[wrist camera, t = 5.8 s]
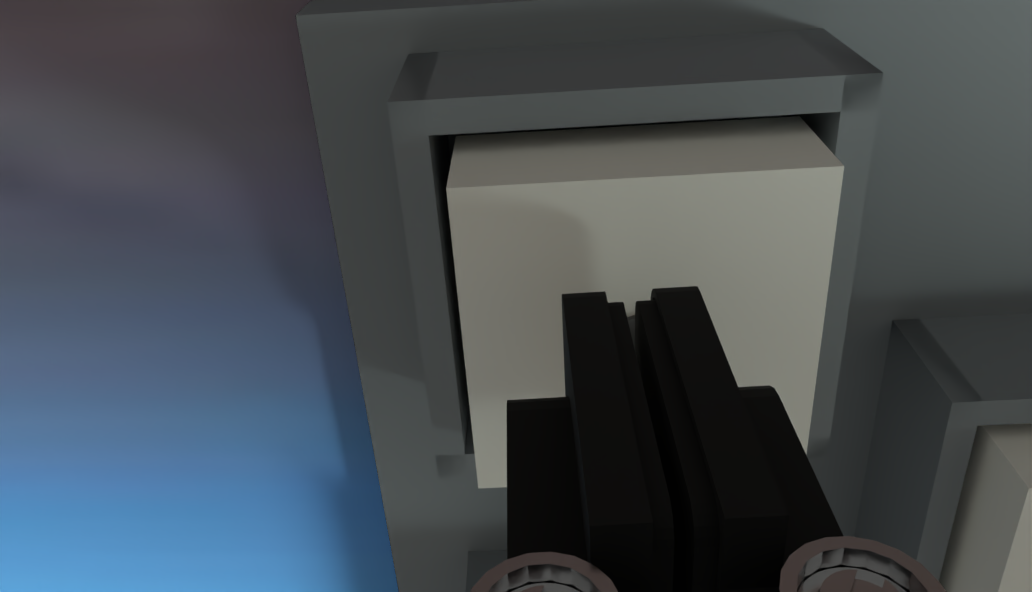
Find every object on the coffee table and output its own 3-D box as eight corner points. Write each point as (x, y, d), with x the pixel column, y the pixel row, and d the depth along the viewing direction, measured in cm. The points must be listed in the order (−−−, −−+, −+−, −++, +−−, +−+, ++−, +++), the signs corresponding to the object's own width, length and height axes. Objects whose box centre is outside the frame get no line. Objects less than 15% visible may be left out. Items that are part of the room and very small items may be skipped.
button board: (1407, -69, 14) (1677, -30, 11) (1097, 688, 24) (1191, 834, 20) (311, 0, 15) (251, 57, 11) (431, 713, 24) (418, 858, 21)
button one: (799, 115, 13) (848, 171, 11) (770, 396, 15) (806, 481, 13) (456, 136, 13) (444, 193, 11) (482, 410, 15) (477, 495, 13)
